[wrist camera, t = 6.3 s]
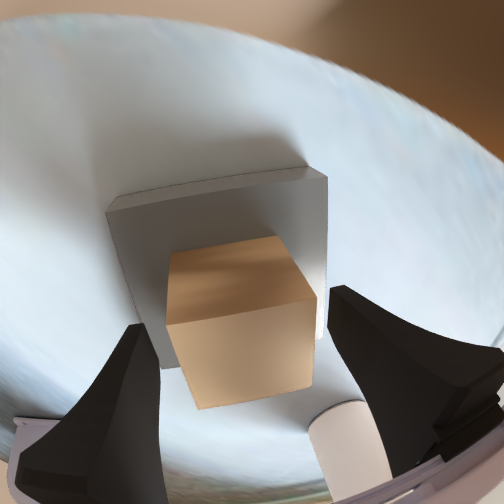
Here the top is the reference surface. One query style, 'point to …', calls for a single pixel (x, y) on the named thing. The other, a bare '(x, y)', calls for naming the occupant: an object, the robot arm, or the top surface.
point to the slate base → (217, 233)
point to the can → (350, 450)
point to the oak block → (241, 321)
